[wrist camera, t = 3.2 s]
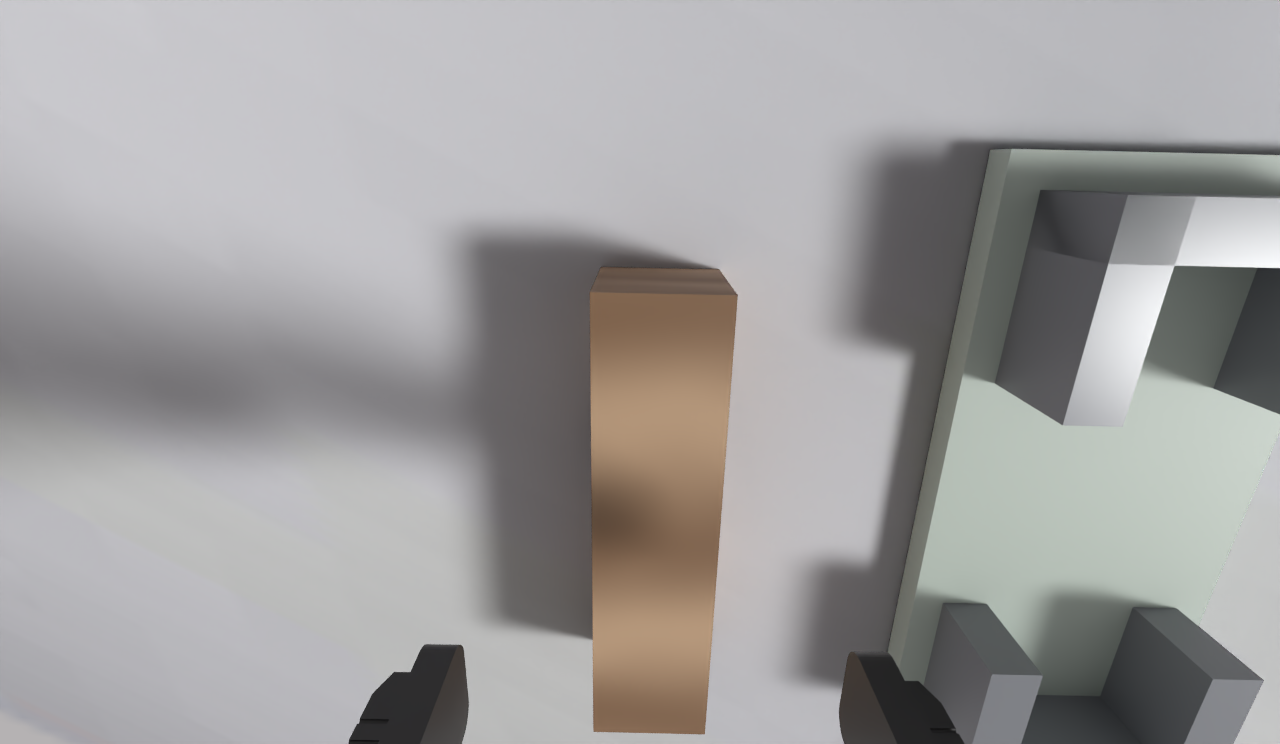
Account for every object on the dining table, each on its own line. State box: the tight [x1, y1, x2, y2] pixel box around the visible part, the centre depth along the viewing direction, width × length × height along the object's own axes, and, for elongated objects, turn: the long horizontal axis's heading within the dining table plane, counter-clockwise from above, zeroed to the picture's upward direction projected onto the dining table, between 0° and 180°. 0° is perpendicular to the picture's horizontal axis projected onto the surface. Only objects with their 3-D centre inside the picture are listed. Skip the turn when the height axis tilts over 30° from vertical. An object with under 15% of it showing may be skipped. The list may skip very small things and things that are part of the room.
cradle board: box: [887, 149, 1280, 696], centre depth 19 cm, size 21×10×1 cm, turn 179°
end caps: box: [924, 190, 1280, 744], centre depth 17 cm, size 19×8×3 cm, turn 179°
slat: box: [590, 267, 738, 734], centre depth 18 cm, size 14×4×4 cm, turn 179°
